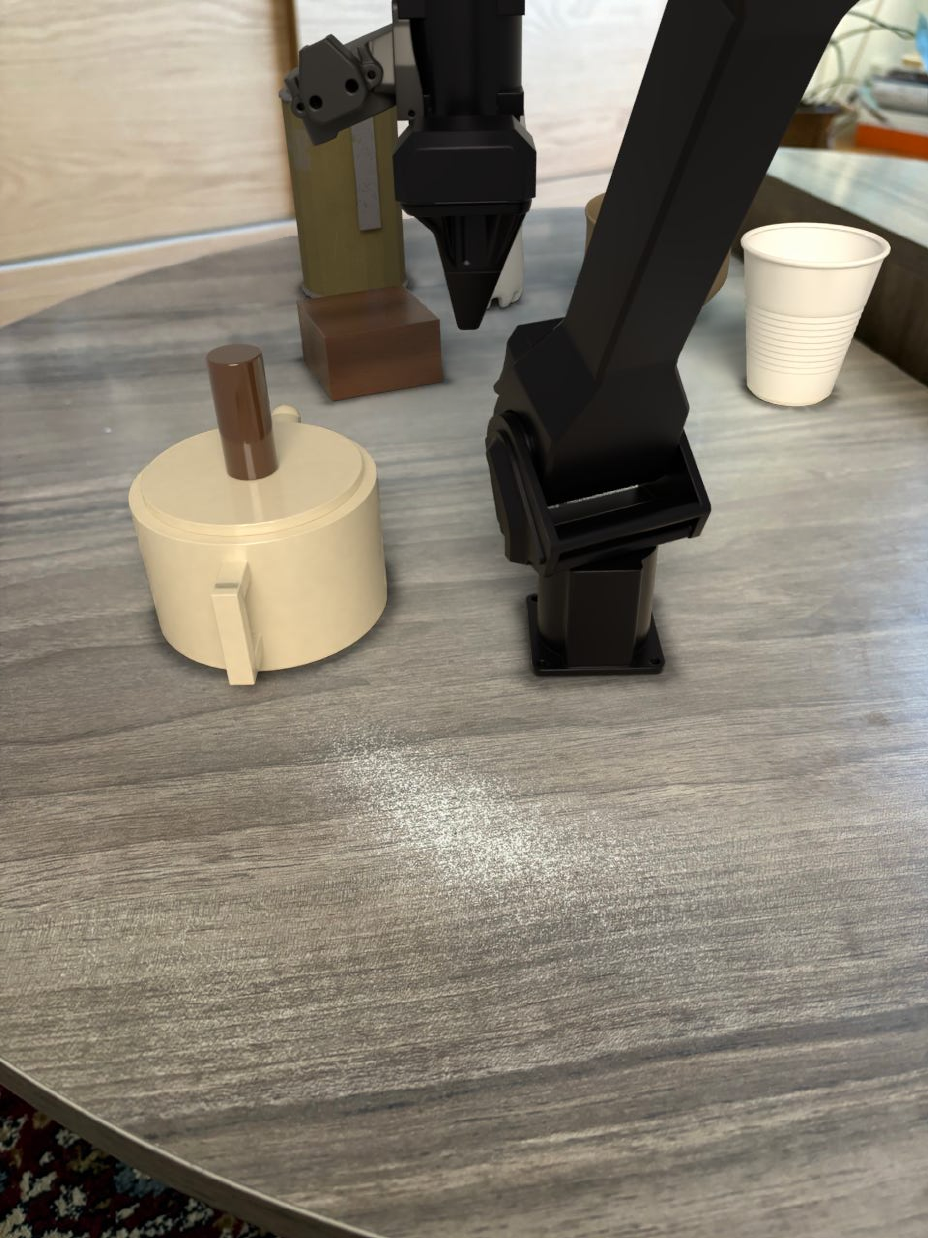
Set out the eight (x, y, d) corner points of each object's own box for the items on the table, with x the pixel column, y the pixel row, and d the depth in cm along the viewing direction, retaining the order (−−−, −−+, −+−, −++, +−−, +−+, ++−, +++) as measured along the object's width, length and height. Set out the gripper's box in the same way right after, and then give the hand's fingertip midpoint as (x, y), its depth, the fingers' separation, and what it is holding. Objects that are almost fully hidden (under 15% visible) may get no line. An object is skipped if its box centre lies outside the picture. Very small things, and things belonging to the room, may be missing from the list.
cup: (704, 404, 74) (723, 252, 67) (740, 358, 81) (761, 216, 74) (842, 429, 70) (877, 270, 63) (868, 378, 77) (901, 230, 70)
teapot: (376, 705, 47) (362, 574, 43) (117, 710, 48) (77, 580, 43) (397, 499, 63) (389, 389, 59) (203, 504, 63) (180, 393, 59)
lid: (406, 462, 51) (398, 337, 47) (259, 561, 44) (235, 423, 40) (250, 415, 56) (231, 299, 52) (95, 497, 49) (59, 369, 45)
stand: (442, 381, 78) (440, 319, 75) (331, 401, 76) (324, 337, 73) (406, 343, 85) (402, 284, 82) (303, 360, 83) (296, 300, 80)
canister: (288, 279, 100) (259, 51, 88) (385, 264, 103) (370, 42, 91) (323, 312, 92) (296, 66, 80) (426, 294, 95) (416, 55, 83)
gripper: (310, -46, 53) (338, 252, 62) (250, -19, 38) (300, 368, 47) (518, -52, 53) (516, 248, 62) (541, -28, 38) (533, 363, 47)
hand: (467, 299), depth 55 cm, fingers open, 9 cm apart
